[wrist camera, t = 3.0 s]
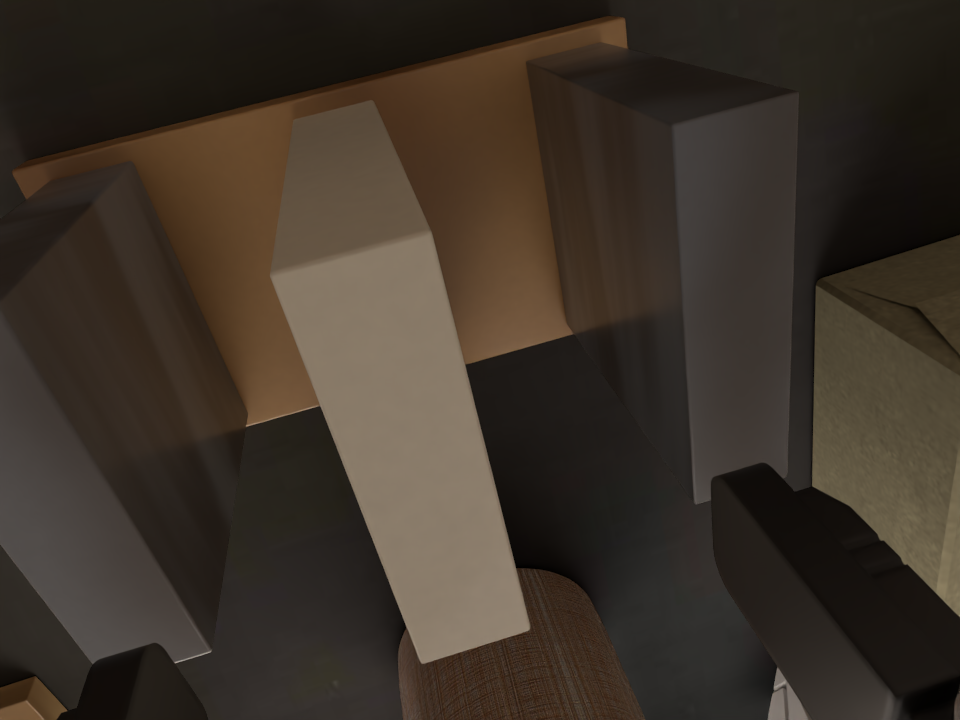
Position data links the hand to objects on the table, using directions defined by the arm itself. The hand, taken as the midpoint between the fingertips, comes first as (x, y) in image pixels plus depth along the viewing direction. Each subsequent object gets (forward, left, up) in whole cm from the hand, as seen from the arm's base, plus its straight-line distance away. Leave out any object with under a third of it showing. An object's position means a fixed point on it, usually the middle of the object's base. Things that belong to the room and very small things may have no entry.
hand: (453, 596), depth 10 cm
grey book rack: (0, 0, -16) cm, 16 cm away
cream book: (0, 0, -15) cm, 15 cm away
